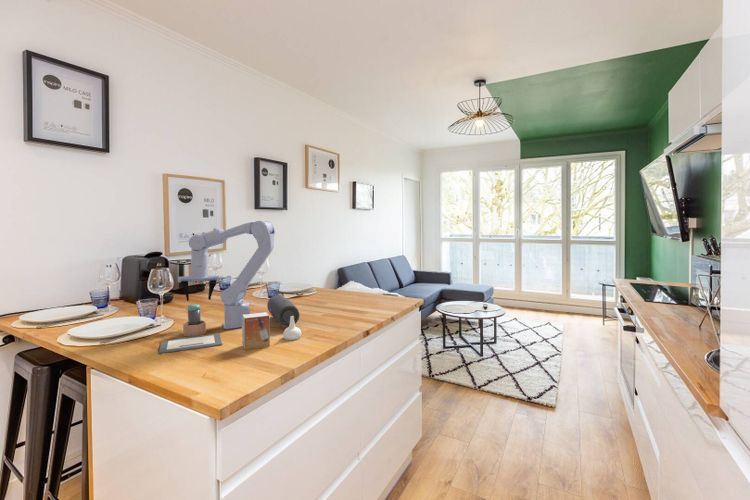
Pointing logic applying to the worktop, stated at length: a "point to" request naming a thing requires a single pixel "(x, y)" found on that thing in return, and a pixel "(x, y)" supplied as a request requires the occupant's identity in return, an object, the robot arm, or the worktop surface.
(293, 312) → the bluetooth speaker
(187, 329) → the pen cup
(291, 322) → the garlic bulb
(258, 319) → the small box
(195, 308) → the marker
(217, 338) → the writing mat
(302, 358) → the worktop surface
